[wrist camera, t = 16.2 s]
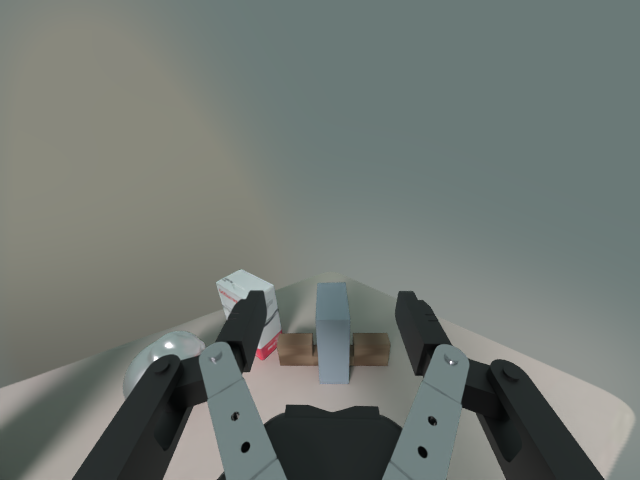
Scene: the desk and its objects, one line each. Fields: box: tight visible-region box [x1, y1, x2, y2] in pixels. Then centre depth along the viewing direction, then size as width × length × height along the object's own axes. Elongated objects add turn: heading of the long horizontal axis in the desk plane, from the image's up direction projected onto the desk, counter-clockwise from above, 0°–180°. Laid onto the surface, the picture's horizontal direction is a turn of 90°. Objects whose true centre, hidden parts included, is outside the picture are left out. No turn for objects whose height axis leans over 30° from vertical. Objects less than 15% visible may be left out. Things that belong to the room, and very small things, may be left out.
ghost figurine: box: [123, 331, 206, 400], centre depth 29 cm, size 9×10×10 cm
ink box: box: [216, 269, 282, 360], centre depth 36 cm, size 8×5×12 cm, turn 54°
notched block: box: [316, 282, 350, 384], centre depth 32 cm, size 4×7×12 cm, turn 179°
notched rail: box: [277, 333, 390, 366], centre depth 34 cm, size 16×2×4 cm, turn 88°
